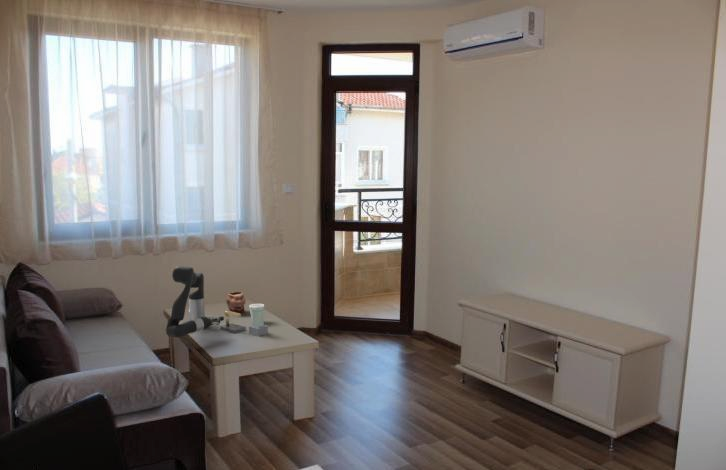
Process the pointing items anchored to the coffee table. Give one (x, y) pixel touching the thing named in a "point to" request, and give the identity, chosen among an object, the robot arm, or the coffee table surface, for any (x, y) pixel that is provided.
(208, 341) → the coffee table surface
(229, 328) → the plate
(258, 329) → the housing
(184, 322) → the robot arm
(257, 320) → the cover
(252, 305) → the cup
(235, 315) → the brown piece
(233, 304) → the decorative planter
